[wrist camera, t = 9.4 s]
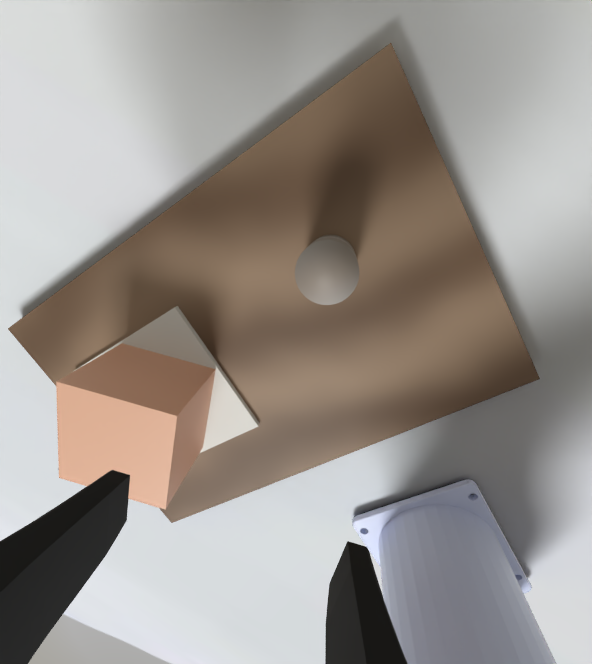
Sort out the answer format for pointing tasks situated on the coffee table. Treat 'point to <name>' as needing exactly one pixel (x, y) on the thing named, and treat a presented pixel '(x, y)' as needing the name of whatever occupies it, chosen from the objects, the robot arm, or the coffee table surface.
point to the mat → (184, 343)
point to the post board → (274, 325)
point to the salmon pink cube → (133, 420)
